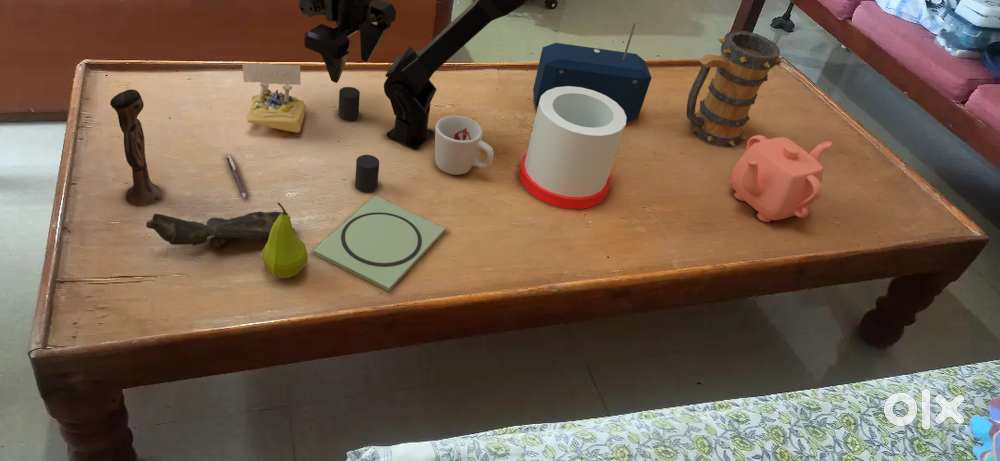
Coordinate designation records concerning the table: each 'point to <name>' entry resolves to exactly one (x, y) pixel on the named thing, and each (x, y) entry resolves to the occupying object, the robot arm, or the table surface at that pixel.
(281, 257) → the fruit
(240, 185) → the pen
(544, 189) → the container
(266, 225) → the statue
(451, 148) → the cup
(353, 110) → the stamp
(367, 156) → the stamp
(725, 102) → the mug
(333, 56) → the robot arm
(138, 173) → the figurine
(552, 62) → the radio
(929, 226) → the table surface
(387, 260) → the board
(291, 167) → the table surface
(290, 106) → the cake
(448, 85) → the table surface
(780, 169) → the teapot
